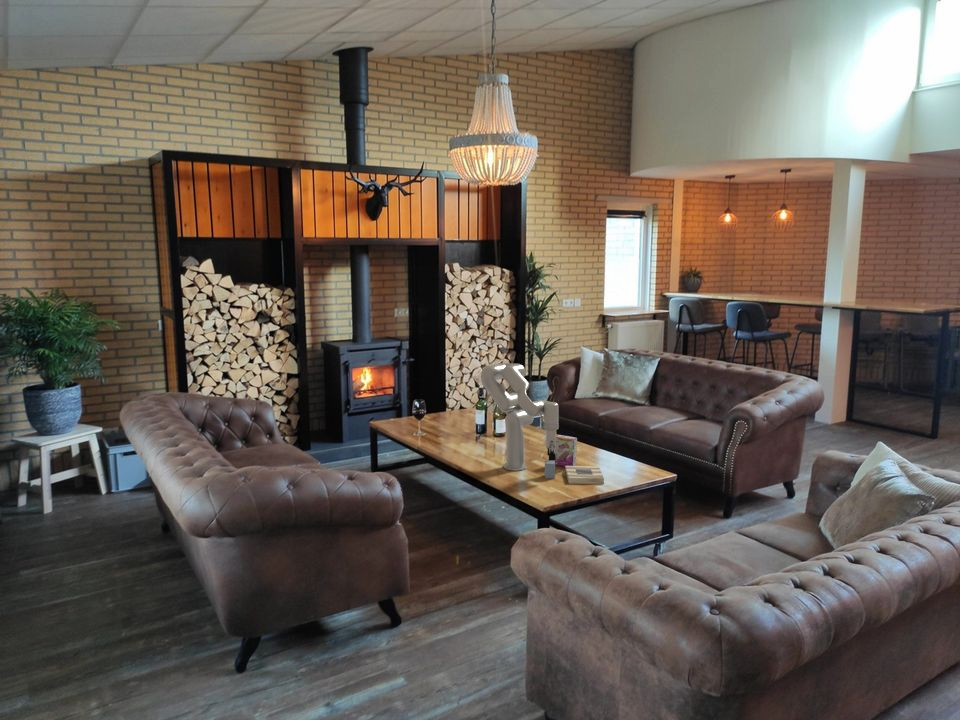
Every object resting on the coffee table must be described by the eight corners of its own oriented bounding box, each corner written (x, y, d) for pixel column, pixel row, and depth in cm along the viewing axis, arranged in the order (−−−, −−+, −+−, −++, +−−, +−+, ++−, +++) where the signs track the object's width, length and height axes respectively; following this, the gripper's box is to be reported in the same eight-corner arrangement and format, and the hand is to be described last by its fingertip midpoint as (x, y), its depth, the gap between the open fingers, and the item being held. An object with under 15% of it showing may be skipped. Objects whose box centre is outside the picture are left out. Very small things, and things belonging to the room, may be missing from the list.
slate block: (544, 475, 378) (545, 460, 377) (554, 475, 378) (554, 460, 377) (545, 478, 373) (545, 463, 372) (554, 478, 373) (555, 463, 372)
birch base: (565, 471, 385) (565, 465, 385) (598, 471, 385) (598, 466, 384) (568, 483, 365) (568, 477, 365) (603, 483, 365) (604, 477, 364)
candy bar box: (554, 465, 396) (554, 436, 393) (558, 462, 400) (558, 434, 397) (572, 468, 390) (573, 439, 387) (576, 466, 394) (577, 437, 392)
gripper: (543, 422, 380) (543, 453, 382) (545, 429, 362) (545, 462, 365) (557, 422, 379) (557, 453, 382) (559, 429, 362) (559, 462, 365)
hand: (551, 457), depth 373 cm, fingers open, 9 cm apart
